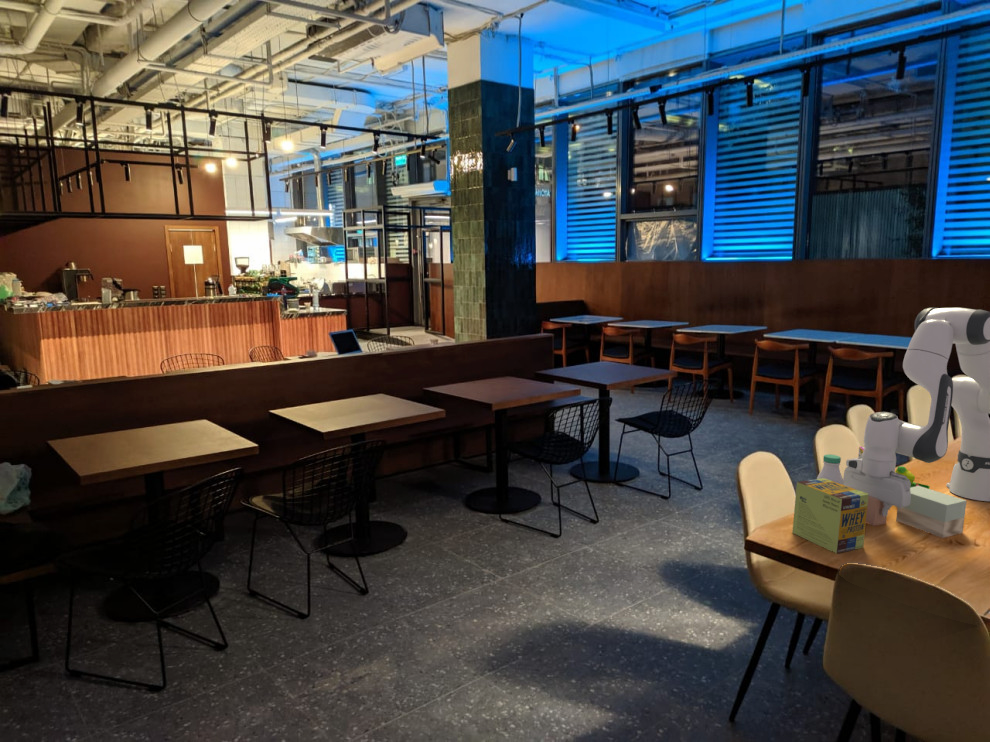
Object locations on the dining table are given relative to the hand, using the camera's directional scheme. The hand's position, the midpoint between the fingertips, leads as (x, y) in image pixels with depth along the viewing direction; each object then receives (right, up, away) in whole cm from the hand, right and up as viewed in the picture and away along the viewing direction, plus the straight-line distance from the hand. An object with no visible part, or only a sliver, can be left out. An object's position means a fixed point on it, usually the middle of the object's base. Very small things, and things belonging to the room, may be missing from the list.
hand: (873, 511), depth 206 cm
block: (0, -3, +1) cm, 3 cm away
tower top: (+15, +1, -4) cm, 15 cm away
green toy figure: (+21, -1, +18) cm, 27 cm away
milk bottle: (-13, -3, +1) cm, 14 cm away
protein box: (-20, -6, -13) cm, 25 cm away
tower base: (+15, -4, -3) cm, 15 cm away
